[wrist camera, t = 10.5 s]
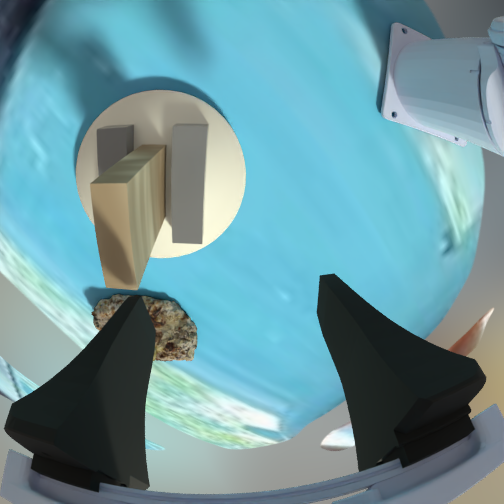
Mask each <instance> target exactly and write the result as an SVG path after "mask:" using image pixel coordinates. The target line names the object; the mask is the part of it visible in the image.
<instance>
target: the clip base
mask: <svg viewBox="0 0 504 504" xmlns="http://www.w3.org/2000/svg"><path fill="white" fill-rule="evenodd" d="M148 144H157V145H166V217H165V219H164V222H163V224H162V227H161V229H160V232H159V234H158V237H157V239H156V242H155V244H154V247H153V249H152V252H151V255H150V257H154V258H171V257H178V256H182V255H186V254H190V253H192V252H195V251H197V250H199V249H201V248H203V247H205V246H207V245H208V244H210V243H211V242H213V241H214V240H215V239H216V238H218V237H219V236H220V235H221V234H222V233H223V232H224V231H225V230H226V228H227V227H228V226H229V225H230V223H231V222H232V220H233V219H234V217H235V216H236V213H237V211H238V209H239V207H240V205H241V201H242V198H243V195H244V189H245V181H246V170H245V161H244V157H243V153H242V149H241V146H240V143H239V141H238V138H237V136H236V134H235V133H234V131H233V129H232V127H231V126H230V124H229V123H228V122H227V121H226V119H225V118H224V117H223V116H222V115H221V114H220V113H219V112H218V111H217V110H216V109H215V108H213V107H212V106H210V105H209V104H208V103H206V102H205V101H203V100H201V99H199V98H197V97H195V96H192V95H189V94H186V93H183V92H177V91H172V90H151V91H143V92H139V93H135V94H132V95H130V96H127V97H125V98H122V99H121V100H119V101H117V102H115V103H114V104H112V105H111V106H110V107H108V108H107V109H106V110H105V111H103V112H102V113H101V114H100V115H99V116H98V117H97V119H96V120H95V121H94V122H93V123H92V125H91V126H90V128H89V129H88V131H87V133H86V135H85V137H84V138H83V141H82V143H81V146H80V149H79V153H78V157H77V164H76V183H77V189H78V194H79V197H80V200H81V203H82V205H83V208H84V210H85V212H86V214H87V215H88V217H89V219H90V220H91V222H92V223H93V224H94V217H93V209H92V200H91V191H90V183H91V182H93V181H94V180H95V179H96V178H98V177H99V176H100V175H101V174H103V173H104V172H105V171H107V170H108V169H109V168H110V167H112V166H113V165H114V164H116V163H117V162H118V161H120V160H121V159H123V158H124V157H125V156H127V155H128V154H129V153H131V152H132V151H134V150H135V149H137V148H138V147H139V146H141V145H148ZM94 225H95V224H94Z"/></svg>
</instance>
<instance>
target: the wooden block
mask: <svg viewBox="0 0 504 504" xmlns="http://www.w3.org/2000/svg"><path fill="white" fill-rule="evenodd" d="M90 191H91V200H92V209H93V217H94V224H95V231H96V238H97V244H98V250H99V255H100V261H101V266H102V271H103V275H104V280H105V285H106V288H117V289H129V290H138V288H139V285H140V282H141V279H142V276H143V273H144V271H145V268H146V265H147V263H148V260H149V257H150V255H151V252H152V249H153V247H154V244H155V242H156V239H157V237H158V234H159V232H160V229H161V227H162V224H163V222H164V219H165V217H166V145H157V144H148V145H141V146H139V147H138V148H137V149H135V150H134V151H132V152H131V153H129V154H128V155H127V156H125V157H124V158H123V159H121V160H120V161H118V162H117V163H116V164H114V165H113V166H112V167H110V168H109V169H108V170H107V171H105V172H104V173H103V174H101V175H100V176H99V177H98V178H96V179H95V180H94V181H93V182H91V183H90Z"/></svg>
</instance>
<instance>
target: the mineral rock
mask: <svg viewBox="0 0 504 504" xmlns="http://www.w3.org/2000/svg"><path fill="white" fill-rule="evenodd" d="M135 296H137V295H135ZM128 297H131V296H130V295H125V296H124V295H121V294H117V295H112V297H111V299H109V300H108V299H101V300H100V301H99V302H98V304H97V306H95V308H94V310H95V311H93V312H92V315H93V316H94V321H93V323H94V325H95V327H96V328H97V329H98V330H101V329H102V328H103V326H104V325H105V324H106V323H107V322H108V320H109V319H110V318H111V317H112V315H113V314H114V313H115V312H116V311H117V309H118V308H119V307H120V306H121V305H122V303H123V302H124V301H125V300H126V299H127V298H128ZM142 298H143V300H144V303H145V305H146V308H147V310H148V313H149V315H150V318H151V320H152V322H153V325H154V327H155V329H156V337H155V352H154V357H153V361H155V360H160V361H172V360H184V359H185V360H186V361H189V360H190V361H192V360H193V358H194V350H195V349H196V347H197V333H196V331H197V327H196V325H195V323H193V322H192V321H190V320H191V318H190V317H189V316H187V315H186V314H185V313H184V312H183V310H181V309H180V306H179V305H178V304H177V303H175V302H174V301H172V302H170V301H168V300H159V299H154V298H152V297H148V296H142Z"/></svg>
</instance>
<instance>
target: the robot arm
mask: <svg viewBox="0 0 504 504" xmlns="http://www.w3.org/2000/svg"><path fill="white" fill-rule="evenodd" d="M402 29H403V30H404V31H405V33H403V32H402ZM488 34H489V36H490V38H446V39H431V38H429V37H427V36H425V35H423V34H421V33H419V32H417V31H415V30H413V29H411V28H409V27H407V26H405V25H403V24H400V23H397V22H396V23H393V24H392V25H391V34H390V45H389V55H388V64H387V72H386V80H385V87H384V94H383V100H382V107H381V115H382V117H383V118H385V119H388V120H391V121H394V122H397V123H401V124H404V125H407V126H410V127H413V128H416V129H418V130H421V131H424V132H427V133H429V134H432V135H435V136H437V137H440V138H443V139H445V140H447V141H450V142H452V143H455V144H457V145H459V146H462V147H464V146H465V145H466V144H467V141H468V142H471V143H473V144H476V145H478V146H481V147H483V148H485V149H488V150H490V151H492V152H495V153H497V154H499V155H501V156H503V157H504V16H502V17H498V18H495V19H493V21H492V24H491V27H489V28H488ZM392 112H394V114H395V115H394V117H392ZM455 137H456V139H455ZM317 316H318V319H319V323H320V327H321V331H322V334H323V337H324V339H325V342H326V344H327V347H328V349H329V352H330V354H331V357H332V359H333V362H334V364H335V367H336V369H337V372H338V374H339V377H340V380H341V383H342V386H343V389H344V393H345V397H346V401H347V405H348V410H349V414H350V418H351V423H352V429H353V434H354V440H355V446H356V453H357V460H358V469H359V472H358V473H354V474H351V475H347V476H343V477H340V478H336V479H332V480H328V481H323V482H319V483H314V484H309V485H304V486H298V487H292V488H286V489H279V490H271V491H263V492H252V493H237V494H180V493H165V492H155V491H147V490H146V489H147V488H148V487H149V486H150V485H149V479H148V471H147V463H146V452H145V404H146V395H147V390H148V384H149V379H150V373H151V368H152V363H153V357H154V352H155V337H156V329H155V327H154V325H153V322H152V320H151V318H150V315H149V313H148V310H147V308H146V305H145V303H144V300H143V298H142V296H131V297H128V298H127V299H126V300H125V301H124V302H123V303H122V305H121V306H120V307H119V308H118V309H117V311H116V312H115V313H114V314H113V315H112V317H111V318H110V319H109V320H108V322H107V323H106V324H105V325H104V326H103V328H102V329H101V330H100V331H99V332H98V334H97V335H96V336H95V337H94V338H93V339H92V340H91V341H90V343H89V344H88V345H87V346H86V347H85V348H84V349H83V350H82V351H81V352H80V353H79V355H78V356H76V357H75V358H74V359H73V360H72V361H71V362H70V363H69V364H68V365H67V366H66V367H65V368H63V369H62V370H61V371H60V372H59V373H57V374H56V375H55V376H54V377H53V378H51V379H50V380H49V381H48V382H46V383H45V384H43V385H42V386H41V387H39V388H38V389H36V390H35V391H33V392H32V393H30V394H28V395H27V396H25V397H23V398H21V399H20V400H18V401H16V402H14V403H12V406H11V408H10V411H9V415H8V417H7V420H6V424H5V427H4V429H5V432H6V433H7V434H8V435H9V436H10V437H11V438H12V439H14V440H15V441H16V442H18V443H19V444H20V445H22V446H23V447H25V448H26V449H27V450H29V451H31V452H32V453H34V455H33V459H32V458H30V457H27V456H25V455H23V454H21V453H18V452H16V451H14V450H12V449H9V451H8V455H7V460H6V464H5V469H4V474H3V479H2V485H1V491H0V495H1V497H3V498H5V499H6V500H8V501H9V502H11V503H13V504H308V503H313V502H318V501H323V500H327V499H331V498H335V497H339V496H343V495H346V494H350V493H354V492H357V491H360V490H363V489H366V488H368V489H367V490H366V491H365V492H362V493H359V494H356V495H353V496H351V497H347V498H345V499H342V500H338V501H334V502H332V504H448V503H450V502H451V501H453V500H454V499H456V498H457V497H459V496H460V495H462V494H463V493H465V492H466V491H467V490H469V489H470V488H472V487H473V486H474V485H475V484H477V483H478V482H479V481H481V480H482V479H483V478H485V477H486V476H487V475H488V474H490V473H491V472H492V471H493V470H495V469H496V468H497V467H498V466H500V465H501V464H502V463H503V462H504V418H503V416H502V414H501V412H500V410H499V408H498V406H497V404H493V405H492V406H490V407H489V408H487V409H486V410H484V411H483V412H481V413H479V414H478V415H477V416H475V417H474V418H472V419H470V417H469V415H468V414H469V413H470V412H471V409H470V406H469V405H468V404H469V402H470V401H471V400H472V399H473V398H474V397H475V396H476V395H477V394H478V393H479V391H480V390H481V389H482V388H483V386H484V384H485V382H486V376H485V374H484V373H483V371H482V370H481V368H480V366H479V365H478V363H477V362H476V360H475V359H472V358H469V357H466V356H462V355H459V354H456V353H453V352H450V351H448V350H446V349H443V348H441V347H438V346H436V345H434V344H432V343H429V342H427V341H426V340H424V339H422V338H420V337H418V336H416V335H414V334H412V333H411V332H409V331H407V330H406V329H404V328H402V327H401V326H399V325H398V324H396V323H394V322H393V321H392V320H390V319H389V318H387V317H386V316H385V315H383V314H382V313H380V312H379V311H378V310H376V309H375V308H374V307H373V306H371V305H370V304H369V303H368V302H366V301H365V300H364V299H363V298H362V297H360V296H359V295H358V294H357V293H356V292H355V291H354V290H352V289H351V288H350V287H349V286H348V285H347V284H346V283H344V282H343V281H342V280H341V279H340V278H339V277H338V276H337V275H335V274H328V275H320V281H319V293H318V305H317Z"/></svg>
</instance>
